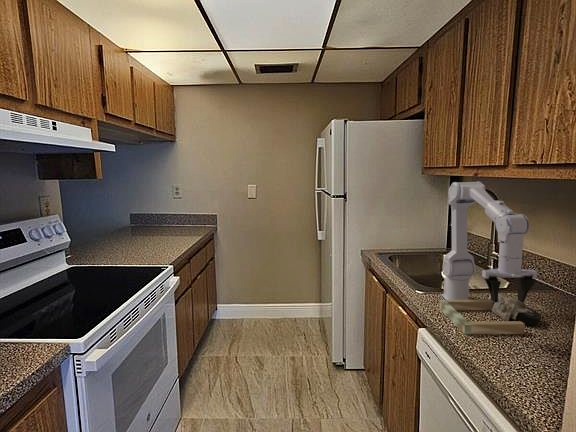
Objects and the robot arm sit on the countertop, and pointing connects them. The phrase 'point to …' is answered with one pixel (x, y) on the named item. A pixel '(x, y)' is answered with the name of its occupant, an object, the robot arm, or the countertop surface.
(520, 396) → the countertop surface
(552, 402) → the countertop surface
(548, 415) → the countertop surface
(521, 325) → the frame
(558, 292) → the countertop surface
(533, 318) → the caster wheel
